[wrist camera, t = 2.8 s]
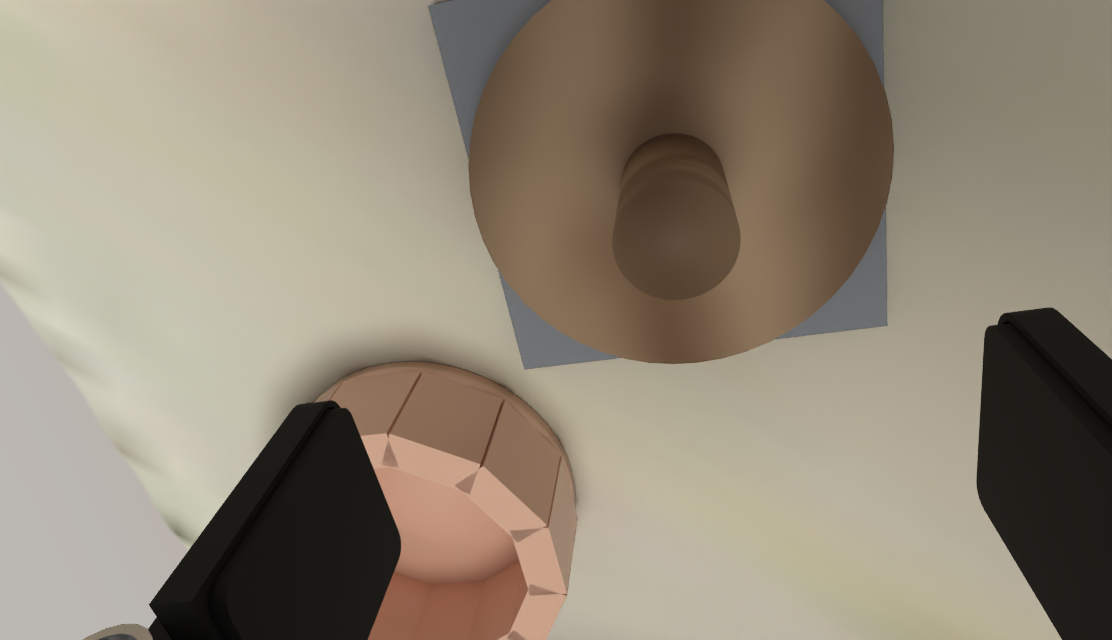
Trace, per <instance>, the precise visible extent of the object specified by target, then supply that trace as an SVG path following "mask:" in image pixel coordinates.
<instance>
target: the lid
mask: <svg viewBox="0 0 1112 640" xmlns="http://www.w3.org/2000/svg"><path fill="white" fill-rule="evenodd" d="M893 154H894V143H893V131H892V119H891V115H890V110H889V106H888V102H887V97H886V93H885V90H884V87H883V85H882V82H881V80H880V77H879V75H878V72H877V70H876V67H875V64H874V63H873V61H872V59H871V58H870V56H869V54H868V52H867V51H866V49H865V47H864V46H863V44H862V42H861V40H860V39H859V37H858V36H857V35H856V34H855V33H854V31H853V30H852V29H851V28H850V26H849V25H848V24H847V23H846V21H845V20H844V19H843V18H842V16H841V15H840V14H839V13H837V12H836V11H835V10H834V9H833V8H832V7H831V6H830V5H829V4H828V3H826V2H825V1H824V0H551V1H550V2H549V3H548V4H546V5H545V6H544V7H543V8H542V9H541V10H539V11H538V12H537V13H536V14H535V15H534V16H532V18H531V19H530V20H529V21H528V22H527V23H526V24H525V25H524V27H523V28H522V29H521V30H520V31H519V32H518V33H517V34H516V36H515V37H514V38H513V39H512V41H511V42H510V44H509V45H508V47H507V48H506V50H505V51H504V52H503V54H502V55H501V57H500V58H499V60H498V61H497V63H496V65H495V67H494V69H493V71H492V73H491V75H490V77H489V79H488V81H487V83H486V85H485V87H484V90H483V93H482V96H481V99H480V102H479V105H478V108H477V111H476V114H475V119H474V124H473V129H472V134H471V139H470V152H469V180H470V193H471V198H472V203H473V208H474V213H475V218H476V221H477V224H478V227H479V230H480V233H481V235H482V238H483V241H484V243H485V245H486V247H487V249H488V251H489V253H490V256H491V258H492V260H493V262H494V263H495V265H496V267H497V268H498V270H499V271H500V273H501V274H502V276H503V277H504V279H505V280H506V282H507V283H508V284H509V286H510V287H511V288H512V289H513V290H514V292H515V293H516V294H517V295H518V296H519V297H520V299H521V300H522V301H523V302H524V303H525V304H526V305H527V306H528V307H530V308H531V309H532V310H533V311H534V312H535V313H536V314H537V315H538V316H539V317H540V318H542V319H543V320H545V321H546V322H547V323H549V324H550V325H551V326H553V327H554V328H556V329H557V330H558V331H560V332H562V333H563V334H565V335H567V336H569V337H571V338H572V339H574V340H576V341H578V342H579V343H582V344H584V345H586V346H589V347H591V348H594V349H596V350H599V351H601V352H604V353H607V354H611V355H614V356H618V357H621V358H625V359H630V360H636V361H642V362H648V363H666V364H680V363H697V362H703V361H709V360H715V359H721V358H725V357H728V356H732V355H735V354H739V353H742V352H746V351H748V350H751V349H753V348H756V347H758V346H760V345H763V344H765V343H768V342H770V341H772V340H774V339H775V338H777V337H779V336H781V335H783V334H784V333H786V332H788V331H790V330H792V329H793V328H795V327H796V326H797V325H799V324H800V323H802V322H803V321H804V320H806V319H807V318H809V317H810V316H811V315H813V314H814V313H815V312H816V311H817V310H818V309H819V308H821V307H822V306H823V305H824V304H825V303H826V302H827V301H828V300H829V299H830V298H832V297H833V296H834V294H835V293H836V292H837V291H838V290H839V289H840V288H841V286H842V285H843V284H844V283H845V282H846V281H847V279H848V278H849V277H850V276H851V274H852V273H853V271H854V270H855V268H856V267H857V265H858V264H859V262H860V261H861V259H862V258H863V257H864V255H865V253H866V251H867V249H868V247H869V245H870V243H871V241H872V239H873V237H874V235H875V233H876V231H877V230H878V227H879V224H880V221H881V218H882V215H883V212H884V209H885V207H886V204H887V199H888V194H889V189H890V184H891V179H892V170H893Z"/></svg>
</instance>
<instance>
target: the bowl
mask: <svg viewBox="0 0 1112 640" xmlns="http://www.w3.org/2000/svg"><path fill="white" fill-rule="evenodd" d="M329 400H333V401H335V402H337V404H338V405H339V406H340V407H341V408H347V409H348V410H349V411H350V412H351V414H352V416H353V419H354V421H355V424H356V426H357V429H358V431H359V434H360V436H361V439H362V441H363V444H364V446H365V449H366V451H367V454H368V456H369V458H370V461H371V463H372V466H373V468H374V471H375V473H376V476H377V478H378V481H379V483H380V486H381V488H382V491H383V493H384V496H385V498H386V501H387V503H388V506H389V508H390V511H391V513H392V516H393V518H394V521H395V523H396V526H397V528H398V531H399V533H400V537H401V554H400V557H399V560H398V563H397V566H396V568H395V571H394V573H393V576H392V578H391V581H390V584H389V586H388V589H387V591H386V594H385V596H384V599H383V602H382V604H381V607H380V609H379V612H378V615H377V617H376V620H375V622H374V625H373V627H372V630H371V633H370V635H369V638H368V640H546V638H547V636H548V634H549V632H550V630H551V628H552V626H553V624H554V622H555V619H556V617H557V615H558V613H559V611H560V609H561V607H562V605H563V603H564V601H565V599H566V597H567V591H568V584H569V577H570V570H571V562H572V555H573V548H574V541H575V534H576V526H577V514H576V510H575V484H574V478H573V472H572V469H571V466H570V463H569V460H568V457H567V455H566V453H565V451H564V449H563V447H562V445H561V443H560V441H559V440H558V438H557V437H556V435H555V434H554V433H553V431H552V430H551V428H550V427H549V426H548V425H547V423H546V422H545V421H544V420H543V419H542V418H541V417H540V416H539V414H538V413H537V412H535V411H534V410H533V409H532V408H531V407H530V406H529V405H527V404H526V403H525V402H524V401H523V400H522V399H520V398H519V397H517V396H516V395H514V394H513V393H511V392H510V391H509V390H507V389H506V388H504V387H502V386H500V385H498V384H496V383H494V382H493V381H491V380H489V379H487V378H484V377H482V376H479V375H477V374H474V373H472V372H469V371H466V370H462V369H459V368H455V367H452V366H447V365H441V364H435V363H429V362H410V361H409V362H394V363H386V364H381V365H376V366H371V367H368V368H365V369H362V370H359V371H356V372H354V373H352V374H350V375H348V376H346V377H344V378H342V379H340V380H338V381H337V382H336V383H334V384H333V385H331V386H330V387H329V388H327V389H326V390H325V391H324V392H323V393H322V394H321V395H320V396H319V397H318V398H317V399H316V400H315V401H314V402H321V401H329Z"/></svg>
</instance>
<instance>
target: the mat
mask: <svg viewBox="0 0 1112 640" xmlns="http://www.w3.org/2000/svg"><path fill="white" fill-rule="evenodd" d="M550 1H551V0H451V1H446V2H442V3H438V4H433V5H430V6H428V7H429V11H430V15H431V18H432V22H433V26H434V30H435V34H436V37H437V41H438V45H439V49H440V52H441V56H442V60H443V64H444V68H445V71H446V75H447V79H448V83H449V87H450V90H451V94H452V98H453V102H454V105H455V109H456V113H457V117H458V121H459V124H460V128H461V132H462V136H463V139H464V143H465V147H466V151H467V155H468V158H469V152H470V139H471V134H472V129H473V124H474V119H475V114H476V111H477V108H478V105H479V102H480V99H481V96H482V93H483V90H484V87H485V85H486V83H487V81H488V79H489V77H490V75H491V73H492V71H493V69H494V67H495V65H496V63H497V61H498V60H499V58H500V57H501V55H502V54H503V52H504V51H505V50H506V48H507V47H508V45H509V44H510V42H511V41H512V39H513V38H514V37H515V36H516V34H517V33H518V32H519V31H520V30H521V29H522V28H523V27H524V25H525V24H526V23H527V22H528V21H529V20H530V19H531V18H532V16H534V15H535V14H536V13H537V12H538V11H539V10H541V9H542V8H543V7H544V6H545V5H546V4H548V3H549V2H550ZM824 1H825V2H826V3H828V4H829V5H830V6H831V7H832V8H833V9H834V10H835V11H836V12H837V13H839V14H840V15H841V16H842V18H843V19H844V20H845V21H846V23H847V24H848V25H849V26H850V28H851V29H852V30H853V31H854V33H855V34H856V35H857V36H858V37H859V39H860V40H861V42H862V44H863V46H864V47H865V49H866V51H867V52H868V54H869V56H870V58H871V59H872V61H873V63H874V64H875V67H876V70H877V72H878V75H879V77H880V80H881V82H882V85H883V87H884V54H883V0H824ZM498 272H499V275H500V279H501V283H502V287H503V291H504V294H505V298H506V302H507V306H508V309H509V313H510V317H511V321H512V325H513V328H514V332H515V336H516V340H517V343H518V347H519V351H520V355H521V359H522V362H523V366H524V369H532V368H541V367H549V366H557V365H566V364H574V363H582V362H590V361H599V360H607V359H615V358H621V357H618V356H614V355H611V354H607V353H604V352H601V351H599V350H596V349H594V348H591V347H589V346H586V345H584V344H582V343H579V342H578V341H576V340H574V339H572V338H571V337H569V336H567V335H565V334H563V333H562V332H560V331H558V330H557V329H556V328H554V327H553V326H551V325H550V324H549V323H547V322H546V321H545V320H543V319H542V318H540V317H539V316H538V315H537V314H536V313H535V312H534V311H533V310H532V309H531V308H530V307H528V306H527V305H526V304H525V303H524V302H523V301H522V300H521V299H520V297H519V296H518V295H517V294H516V293H515V292H514V290H513V289H512V288H511V287H510V286H509V284H508V283H507V282H506V280H505V279H504V277H503V276H502V274H501V273H500V271H499V270H498ZM881 326H887V261H886V207H885V209H884V212H883V215H882V218H881V221H880V224H879V227H878V230H877V231H876V233H875V235H874V237H873V239H872V241H871V243H870V245H869V247H868V249H867V251H866V253H865V255H864V257H863V258H862V259H861V261H860V262H859V264H858V265H857V267H856V268H855V270H854V271H853V273H852V274H851V276H850V277H849V278H848V279H847V281H846V282H845V283H844V284H843V285H842V286H841V288H840V289H839V290H838V291H837V292H836V293H835V294H834V296H833V297H832V298H830V299H829V300H828V301H827V302H826V303H825V304H824V305H823V306H822V307H821V308H819V309H818V310H817V311H816V312H815V313H814V314H813V315H811V316H810V317H809V318H807V319H806V320H804V321H803V322H802V323H800V324H799V325H797V326H796V327H795V328H793V329H792V330H790V331H788V332H786V333H784V334H783V335H781V336H779V337H777V338H775V339H781V338H790V337H798V336H806V335H815V334H823V333H831V332H839V331H848V330H856V329H864V328H873V327H881Z"/></svg>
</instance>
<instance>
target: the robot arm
mask: <svg viewBox="0 0 1112 640" xmlns="http://www.w3.org/2000/svg"><path fill="white" fill-rule="evenodd" d="M977 490H978V495H979V498H980V501H981V504H982V506H983V508H984V510H985V512H986V513H987V515H988V517H989V518H990V520H991V522H992V523H993V525H994V527H995V528H996V530H997V532H998V533H999V535H1000V537H1001V538H1002V540H1003V542H1004V543H1005V545H1006V547H1007V548H1008V550H1009V552H1010V553H1011V555H1012V557H1013V558H1014V560H1015V562H1016V563H1017V565H1018V567H1019V568H1020V570H1021V572H1022V573H1023V575H1024V577H1025V578H1026V580H1027V582H1028V583H1029V585H1030V587H1031V588H1032V590H1033V592H1034V593H1035V595H1036V597H1037V598H1038V600H1039V602H1040V603H1041V605H1042V607H1043V608H1044V610H1045V612H1046V613H1047V615H1048V617H1049V618H1050V620H1051V622H1052V623H1053V625H1054V627H1055V628H1056V630H1057V632H1058V633H1059V635H1060V637H1061V638H1062V640H1112V359H1111V358H1109V357H1108V356H1107V355H1106V354H1105V353H1104V352H1103V351H1102V350H1101V349H1099V348H1098V347H1097V346H1096V345H1095V344H1094V343H1093V342H1092V341H1091V340H1089V339H1088V338H1087V337H1086V336H1085V335H1084V334H1083V333H1082V332H1081V331H1079V330H1078V329H1077V328H1076V327H1075V326H1074V325H1073V324H1072V323H1071V322H1069V321H1068V320H1067V319H1066V318H1065V317H1064V316H1063V315H1062V314H1061V313H1059V312H1058V311H1057V310H1055V309H1054V308H1041V309H1034V310H1026V311H1018V312H1011V313H1004V314H1003V315H1002V316H1001V317H1000V319H999V321H998V325H993V326H989V327H988V328H987V329H986V332H985V337H984V355H983V373H982V391H981V409H980V427H979V445H978V463H977ZM400 554H401V537H400V533H399V531H398V528H397V526H396V523H395V521H394V518H393V516H392V513H391V511H390V508H389V506H388V503H387V501H386V498H385V496H384V493H383V491H382V488H381V486H380V483H379V481H378V478H377V476H376V473H375V471H374V468H373V466H372V463H371V461H370V458H369V456H368V454H367V451H366V449H365V446H364V444H363V441H362V439H361V436H360V434H359V431H358V429H357V426H356V424H355V421H354V419H353V416H352V414H351V412H350V411H349V410H348V409H347V408H341V407H340V406H339V405H338V404H337V402H335V401H333V400H329V401H321V402H313V403H306V404H300V405H297V406H295V407H294V408H293V409H292V411H291V412H290V414H289V415H288V416H287V418H286V419H285V420H284V422H283V423H282V424H281V426H280V427H279V428H278V430H277V431H276V433H275V434H274V435H273V437H272V438H271V439H270V441H269V442H268V443H267V445H266V446H265V448H264V449H263V450H262V452H261V453H260V454H259V456H258V457H257V458H256V460H255V461H254V463H253V464H252V465H251V467H250V468H249V469H248V471H247V472H246V473H245V475H244V476H243V477H242V479H241V480H240V482H239V483H238V484H237V486H236V487H235V488H234V490H233V491H232V492H231V494H230V495H229V497H228V498H227V499H226V501H225V502H224V503H223V505H222V506H221V507H220V509H219V510H218V511H217V513H216V514H215V516H214V517H213V518H212V520H211V521H210V522H209V524H208V525H207V526H206V528H205V529H204V531H203V532H202V533H201V535H200V536H199V537H198V539H197V540H196V541H195V543H194V544H193V545H192V547H191V548H190V550H189V551H188V552H187V554H186V555H185V556H184V558H183V559H182V560H181V562H180V563H179V565H178V566H177V567H176V569H175V570H174V571H173V573H172V574H171V575H170V577H169V578H168V580H167V581H166V582H165V584H164V585H163V586H162V588H161V589H160V590H159V592H158V593H157V595H156V596H155V597H154V599H153V600H152V601H151V603H150V604H149V605H150V607H151V609H152V610H153V612H154V613H155V615H156V616H157V618H156V619H155V620H154V622H153V623H152V625H151V626H150V627H149V629H147V628H145V627H143V626H141V625H138V624H121V625H117V626H114V627H110V628H106V629H104V630H101V631H99V632H97V633H95V634H93V635H90V636H88V637H86V638H85V639H83V640H368V638H369V635H370V633H371V630H372V627H373V625H374V622H375V620H376V617H377V615H378V612H379V609H380V607H381V604H382V602H383V599H384V596H385V594H386V591H387V589H388V586H389V584H390V581H391V578H392V576H393V573H394V571H395V568H396V566H397V563H398V560H399V557H400Z"/></svg>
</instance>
